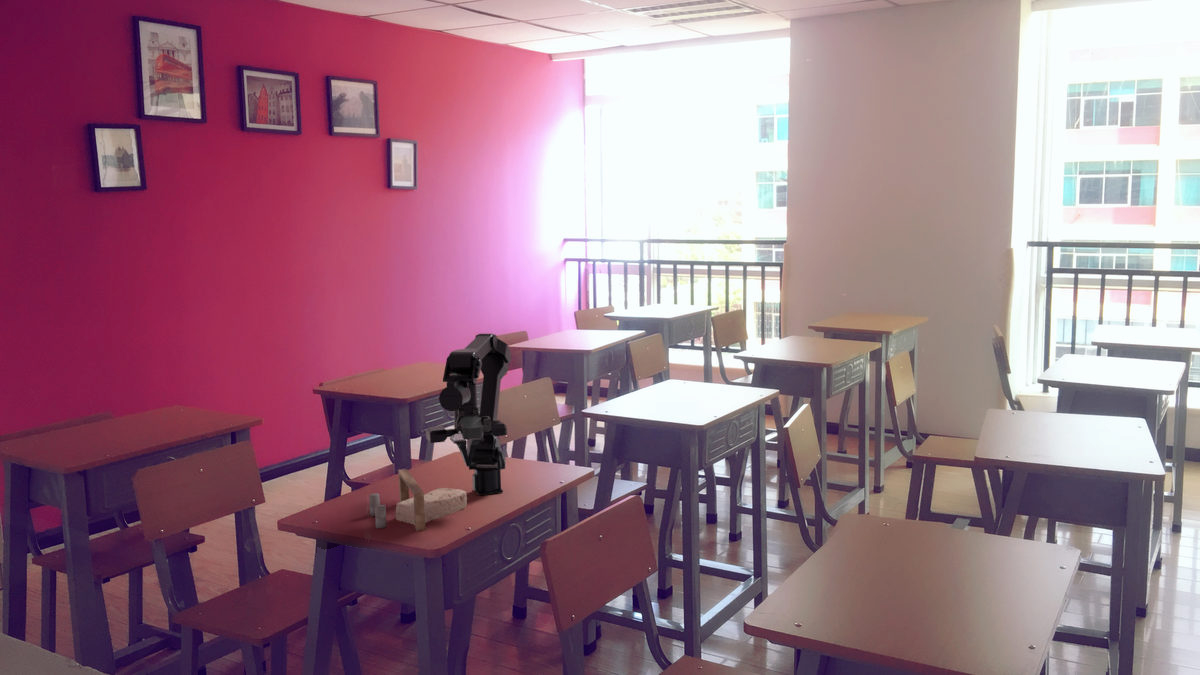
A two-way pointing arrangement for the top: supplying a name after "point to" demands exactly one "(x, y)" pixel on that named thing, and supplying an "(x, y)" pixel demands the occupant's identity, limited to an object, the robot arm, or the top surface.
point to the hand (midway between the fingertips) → (468, 466)
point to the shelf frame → (404, 485)
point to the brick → (433, 505)
